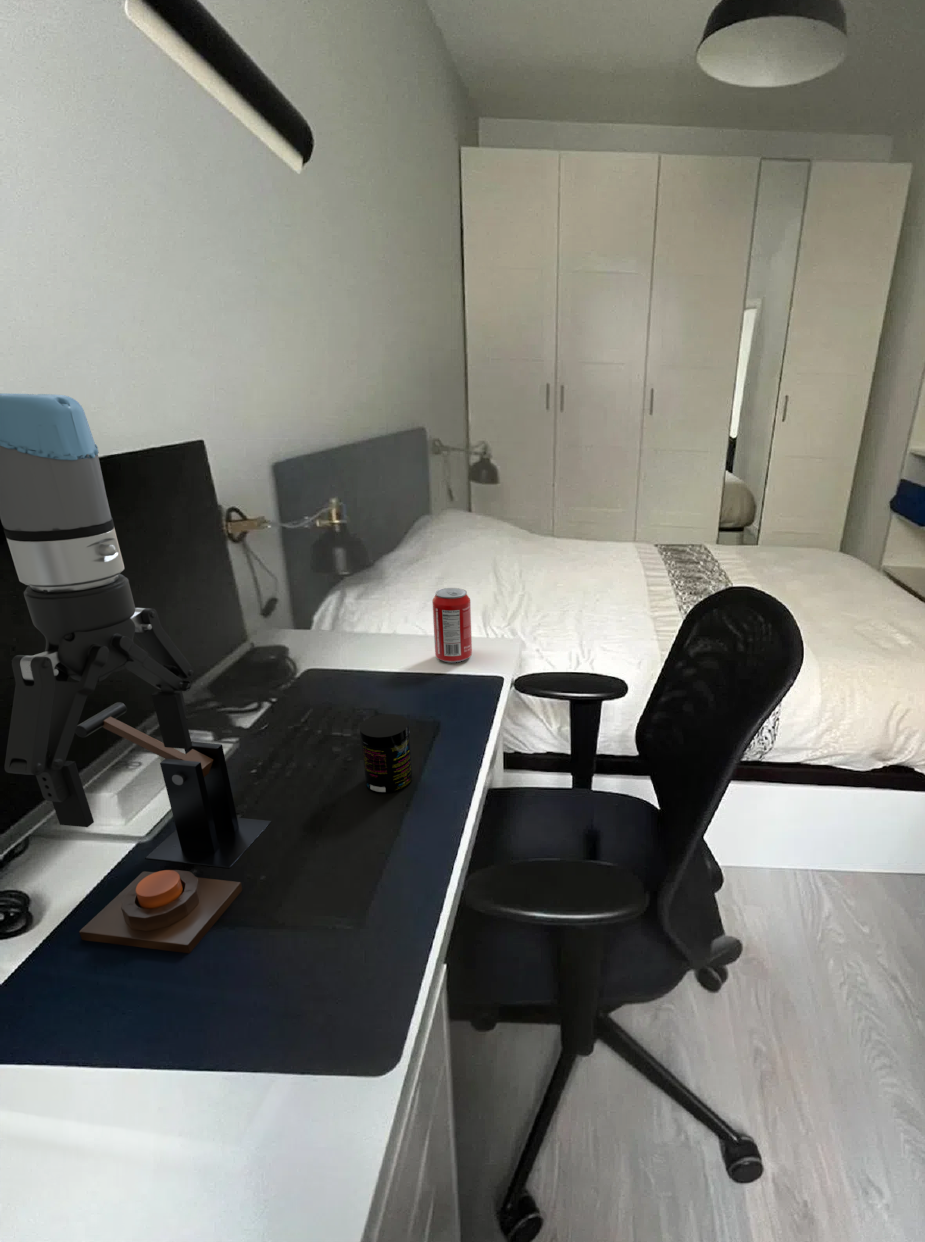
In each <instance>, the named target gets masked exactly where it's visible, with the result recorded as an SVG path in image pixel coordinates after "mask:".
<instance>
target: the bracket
mask: <svg viewBox="0 0 925 1242" xmlns="http://www.w3.org/2000/svg"><path fill="white" fill-rule="evenodd" d="M191 742H192V746H191V747H190V748H189V749H183V750H184V754H187V753H188V752H189V751H191V750H192V749H194V750H196V751H198V752H200V753H202V754H204V755H206V756H208V757H210V758H212V759H213V763H212V765H211V768H210V771H209V774H207V775H206V776H205V777H204V775H203V771H202V766H201V762H196V761H186V760H175V759H165V758H164V759H163V760H162V761H161V762H159V765H160V769H161V773H162V777H163V781H164V785H165V789H166V792H167V798H168V801H169V805H170V808H171V812H172V818H173V821H174V825H175V830H174V831H173V832H172V833H171V834H169V835H168V836H167V837H166V838H164V840H163V841H161V843H159V844H158V845H157V846H156V847H155V848H154V849H153V850H152V851H151V852H149V854H147V855H146V856H145V857H144V859H145V860H152V861H159V862H169V863H179V864H185V865H187V864H188V865H195V866H203V867H213V868H222V869H231V868H232V867H233V866H234V865H236V863H237V862H238V861H239V860H240V858H241V857H242V856H243V855H244V854H245V853H246V852H247V850H248V849H249V848H250V847H251V846H252V845H253V844H254V842H255V841H256V840H257V839H258V838H259V837H260V836H261V835H262V834H263V833H264V831H265V830H266V829H267V828H268V827H269V826H270V825H271V823H272V820H265V819H256V818H245V817H238V816H237V811H236V806H235V802H234V797H233V791H232V786H231V782H230V776H229V771H228V766H227V762H226V757H225V752H224V747H223V746H224V745H223V744H221V743H212V742H202V741H191Z"/></svg>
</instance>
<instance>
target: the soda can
mask: <svg viewBox="0 0 925 1242" xmlns="http://www.w3.org/2000/svg"><path fill="white" fill-rule="evenodd" d="M434 593H435V594H434V597H433V598H432V604H431V605H432V621H433V623H432V624H433V638H434V642H433V643H434V654H435V658H437V659H438V660H440V661H442V662H444V663H448V664H456V662H457V663H461V661H462V662H464V661H466V660H468V659H469V658H471V656H472V654H473V643H472V642H473V639H472V610H471V609H472V607H471V598H470V597H469V595H468V594H467V593H468V592H467V590H465V589H463V588H459V587H445V588H444V587H443V588H440V589H438V590H436V591H435V592H434Z"/></svg>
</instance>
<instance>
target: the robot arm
mask: <svg viewBox="0 0 925 1242" xmlns="http://www.w3.org/2000/svg"><path fill="white" fill-rule="evenodd" d="M98 448H99V447H98V445H97V443H96V442H95V440H94V437H93V434H92V431H91V427H90V425H89V421H88V419H87V416H86V412H85V409H84V408H83V406H82V405H81V404H80V402H78V401H77V400H76V399H75V398H73V397H71V396H69V395H64V394H56V393H55V394H52V393H37V394H36V393H34V394H33V393H0V522H1V525H2V530H3V533H4V537H5V539H6V542H7V545H8V548H9V551H10V554H11V558H12V561H13V565H14V568H15V572H16V574H17V578H18V581H19V582H20V583H22V584H24V585H25V586H27V587H26V588H25V590H23V596H24V599H25V602H26V605H27V609H28V612H29V615H30V619H31V621H32V624H33V626H34V628H36V629H37V630H38V631H39V632H40V633H41V634H42V635H43V636H44V639H45V649H44V651H43V652H40V653H35V654H34V655H26V654H25V655H24V654H17V655H15V656H14V657H13V658H12V660H11V668H12V671H13V677H14V681H15V686H14V694H13V701H12V708H11V716H10V724H9V731H8V738H7V743H6V744H7V746H6V751H5V752H6V754H5V760H4V771H5V773H8V774H14V775H15V774H16V775H25V776H26V775H28V776H35V777H36V780H37V783H38V786H39V789H40V791H41V795H42V798H43V799H44V800H45V801H46V802H51V803H52V806H53V809H54V811H55V814H56V817H57V821H58V823H59V825H60V826H69V827H80V828H89V827H90V826H91V825H92V824H94V823H95V821H94V818H93V814H92V811H91V807H90V804H89V802H88V799H87V795H86V792H85V788H84V786H83V781H82V780H81V776H80V773H79V770H78V766H77V763H76V761H72V760H67V757H68V754H69V752H70V749H71V746H72V742H73V740H74V736H75V734H76V733H75V731H76V728H77V725H79V722H80V719H81V716H82V713H83V709H84V707H85V704H86V701H87V698H88V696H89V695H91V694H92V693H94V692H95V690H96V687H97V684H98V683H101V682H102V681H104V680H106V679H107V678H108V677H110V676H111V675H112V674H114V673H119V672H121V671H123V670H127V671H129V672H131V673H132V674H134V675H135V676H137V677H138V678H140V679H141V680H143V681H145V682H146V683H147V684H149V685H151V686H152V687H154V688H156V689H157V690H161V691H155V692H153V693H152V694H151V698H152V703H153V707H154V711H155V714H156V718H157V722H158V726H159V730H160V734H161V738H162V741H163V742H162V743H164V746H165V747H168V748H174V749H182V750H184V749H189V748H190V747H191V746H192V742H193V741H192V739H191V734H190V730H189V726H188V722H187V717H186V715H187V705H186V702H185V697H184V692H190V690H191V689H192V682H191V681H190V680H188V679H192V678H193V677H194V676H195V668H193V666H192V665H191V663H190V662H189V661H188V660H187V659H186V657H185V656H184V654H183V653H182V652H181V650H180V648H178V647H177V645H176V644H175V642H174V641H173V639H171V637H170V636H169V635H168V633H167V631H166V630H165V629H164V628H163V627H162V624H161V621H160V618H159V615H158V611H157V609H155V608H149V607H136V605H135V602H134V598H133V593H132V589H131V585H130V580H129V578H128V577H126V576H125V575H123V574H121V573H122V572H123V571H124V570H125V564H124V559H123V556H122V552H121V549H120V548H121V547H120V544H119V540H118V537H117V532H116V529H115V522H114V518H113V517H112V513H111V509H110V506H109V501H108V497H107V492H106V487H105V481H104V477H103V473H102V472H103V471H102V468H101V467H102V466H101V463H100V457H99V449H98ZM134 637H135V638H136V640H137V641H138V642H139V643H140V644H141V646H142V647H143V648H144V649H143V648H142V647H141V646H139V645H138V644H136V643H135V642H134ZM149 655H150V656H149ZM69 677H70V678H71V679H73V680H75V681H76V682H75V681H68V679H69ZM48 751H49V753H50V754H48Z"/></svg>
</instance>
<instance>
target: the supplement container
mask: <svg viewBox="0 0 925 1242" xmlns="http://www.w3.org/2000/svg"><path fill="white" fill-rule="evenodd" d="M359 734H360V735H359V737H360V738H359V739H360V742H361V743H360V744H361V751H362V762H363V770H364V779H365V786H366V788H367V790H368V791H369V792H371V793H374V794H379V795H388V794H389V795H390V794H395V793H399V792H401V791H403V790H405V789H407V788H408V787H410V785H411V784H412V782H413V781H414V780H413V766H412V765H413V764H412V753H411V751H412V750H411V738H410V734H411V733H410V723H409V720H408V719H407V718H406V717H405V716H403V715H399V714H394V713H385V714H378V715H374V716H371V717H369V718H367V719H365V720H364V721H362V722H361V724H360V725H359Z"/></svg>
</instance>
